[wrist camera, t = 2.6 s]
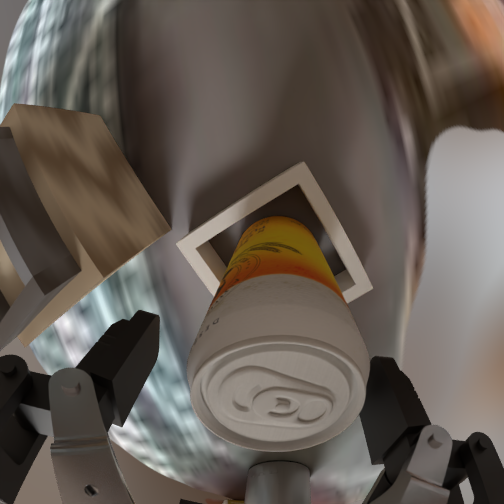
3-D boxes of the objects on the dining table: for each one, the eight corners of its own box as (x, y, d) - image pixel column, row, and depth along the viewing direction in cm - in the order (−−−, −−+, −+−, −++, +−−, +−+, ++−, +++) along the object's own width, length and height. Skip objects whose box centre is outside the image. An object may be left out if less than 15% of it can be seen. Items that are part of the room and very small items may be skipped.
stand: (171, 229, 22) (67, 305, 9) (87, 294, 24) (2, 368, 12) (100, 115, 19) (-23, 101, 7) (31, 198, 22) (-67, 230, 9)
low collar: (362, 272, 21) (373, 288, 19) (257, 329, 24) (255, 350, 21) (299, 161, 19) (304, 161, 16) (188, 233, 22) (175, 243, 19)
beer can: (250, 203, 21) (195, 296, 6) (328, 228, 21) (416, 352, 6) (229, 276, 22) (169, 433, 8) (301, 298, 23) (324, 464, 8)
